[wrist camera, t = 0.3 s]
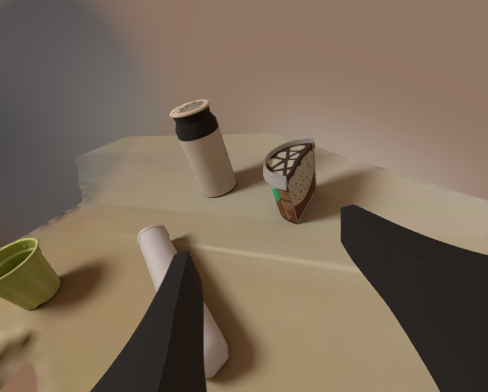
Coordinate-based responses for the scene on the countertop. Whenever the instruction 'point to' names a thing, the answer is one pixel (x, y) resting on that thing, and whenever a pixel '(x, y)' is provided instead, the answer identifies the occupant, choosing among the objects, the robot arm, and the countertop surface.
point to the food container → (292, 177)
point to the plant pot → (26, 275)
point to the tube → (158, 260)
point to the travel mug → (204, 147)
